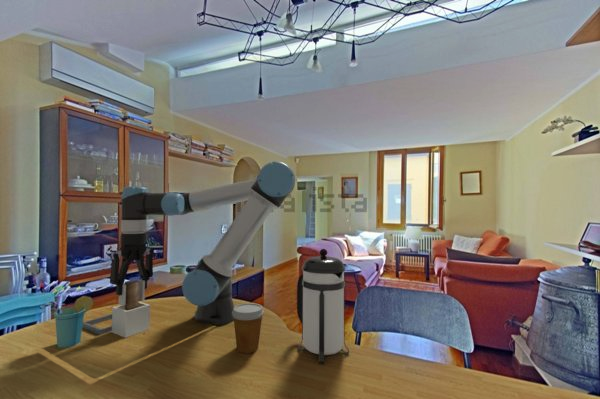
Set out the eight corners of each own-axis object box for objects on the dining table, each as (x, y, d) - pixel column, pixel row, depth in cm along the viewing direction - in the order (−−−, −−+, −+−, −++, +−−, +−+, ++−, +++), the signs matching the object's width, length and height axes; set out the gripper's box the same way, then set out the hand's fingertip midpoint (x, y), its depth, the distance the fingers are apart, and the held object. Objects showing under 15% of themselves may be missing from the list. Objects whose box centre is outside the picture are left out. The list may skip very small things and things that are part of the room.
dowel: (140, 329, 97) (141, 281, 98) (128, 333, 94) (129, 284, 94) (133, 327, 99) (134, 279, 100) (121, 331, 96) (122, 282, 96)
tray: (137, 325, 103) (137, 318, 103) (100, 338, 93) (100, 330, 93) (118, 318, 109) (118, 312, 109) (81, 330, 99) (82, 322, 99)
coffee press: (350, 341, 91) (350, 246, 93) (347, 368, 76) (347, 253, 77) (297, 335, 95) (297, 244, 97) (283, 360, 80) (284, 250, 81)
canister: (149, 331, 98) (150, 304, 98) (125, 340, 91) (126, 311, 91) (135, 326, 102) (136, 300, 102) (111, 335, 95) (112, 307, 95)
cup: (47, 362, 78) (49, 305, 78) (28, 357, 80) (30, 302, 81) (98, 340, 91) (99, 292, 92) (80, 336, 94) (82, 289, 94)
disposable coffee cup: (270, 348, 87) (270, 307, 87) (243, 359, 80) (244, 315, 80) (250, 338, 93) (251, 300, 94) (224, 348, 86) (225, 307, 87)
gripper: (153, 230, 107) (151, 293, 107) (97, 233, 91) (94, 308, 90) (165, 231, 104) (164, 296, 103) (110, 235, 88) (107, 312, 87)
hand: (131, 302), depth 97 cm, fingers open, 6 cm apart
